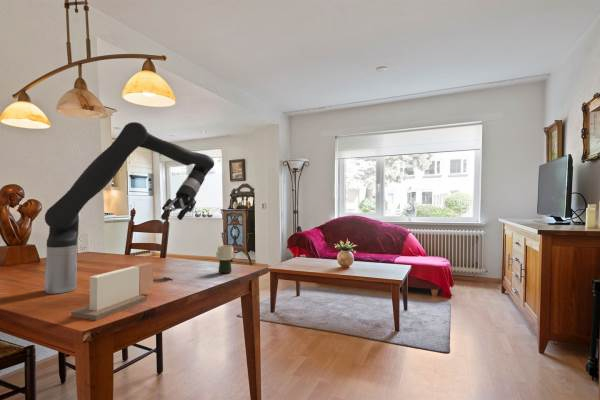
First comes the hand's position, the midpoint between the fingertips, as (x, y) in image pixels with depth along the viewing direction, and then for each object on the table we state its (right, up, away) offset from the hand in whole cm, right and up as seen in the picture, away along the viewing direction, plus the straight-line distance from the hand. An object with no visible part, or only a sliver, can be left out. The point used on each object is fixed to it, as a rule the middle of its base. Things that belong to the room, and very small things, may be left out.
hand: (170, 218), depth 124 cm
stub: (-4, -26, -13) cm, 29 cm away
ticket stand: (-8, -27, -25) cm, 38 cm away
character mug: (+16, -28, +24) cm, 40 cm away
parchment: (-13, -28, +1) cm, 31 cm away
